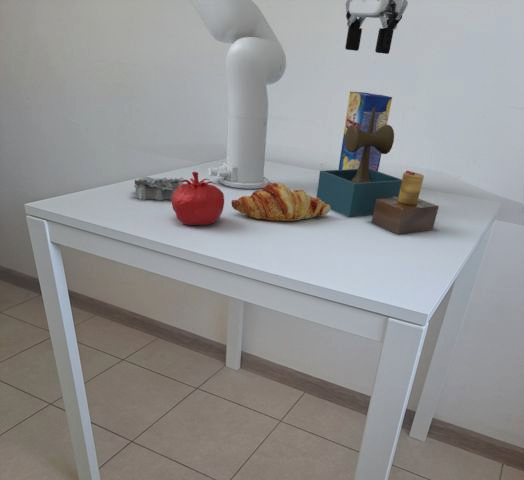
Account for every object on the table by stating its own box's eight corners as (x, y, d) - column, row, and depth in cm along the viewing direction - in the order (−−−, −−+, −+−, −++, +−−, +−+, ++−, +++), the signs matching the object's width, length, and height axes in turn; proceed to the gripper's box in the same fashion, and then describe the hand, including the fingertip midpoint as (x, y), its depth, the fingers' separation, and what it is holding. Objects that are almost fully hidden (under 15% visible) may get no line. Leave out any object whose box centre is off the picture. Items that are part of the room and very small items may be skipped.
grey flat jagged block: (133, 199, 104) (131, 180, 102) (138, 191, 111) (137, 172, 108) (183, 202, 105) (182, 182, 103) (185, 193, 112) (185, 174, 110)
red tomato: (223, 230, 91) (225, 179, 86) (170, 228, 90) (168, 176, 85) (223, 215, 99) (224, 167, 94) (174, 212, 98) (172, 164, 93)
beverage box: (359, 180, 137) (374, 93, 126) (374, 190, 128) (392, 97, 117) (336, 179, 136) (350, 91, 124) (350, 189, 127) (365, 95, 115)
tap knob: (421, 204, 99) (428, 174, 96) (407, 205, 97) (414, 175, 94) (407, 198, 102) (413, 170, 99) (393, 200, 100) (399, 171, 97)
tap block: (397, 234, 97) (403, 208, 94) (371, 222, 103) (375, 197, 100) (433, 230, 101) (439, 205, 99) (405, 218, 107) (411, 194, 104)
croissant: (321, 227, 108) (321, 191, 107) (339, 219, 98) (339, 179, 98) (228, 226, 103) (226, 187, 102) (237, 216, 93) (236, 174, 92)
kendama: (382, 205, 111) (401, 109, 101) (345, 206, 108) (361, 107, 98) (369, 198, 116) (386, 105, 106) (333, 199, 113) (347, 104, 102)
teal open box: (349, 217, 105) (354, 183, 101) (315, 201, 114) (319, 170, 110) (398, 211, 112) (405, 180, 108) (363, 197, 121) (369, 168, 117)
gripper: (341, -56, 95) (327, 47, 104) (402, -65, 82) (380, 52, 91) (371, -49, 98) (354, 50, 107) (433, -57, 86) (409, 56, 95)
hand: (366, 51), depth 99 cm, fingers open, 9 cm apart
